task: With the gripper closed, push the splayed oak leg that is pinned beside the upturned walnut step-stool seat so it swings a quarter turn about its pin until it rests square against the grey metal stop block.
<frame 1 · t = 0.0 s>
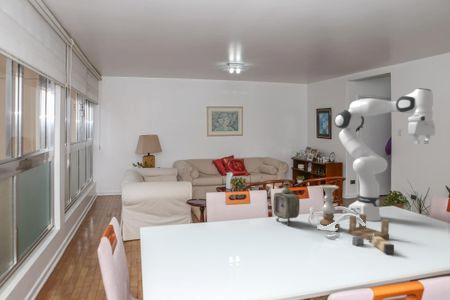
hand: (421, 143, 178), 48 cm above the table, tool pointing down, fingers open, 8 cm apart
candle holder: (328, 228, 184), on the table
stop block: (357, 244, 157), on the table
stool seat: (368, 236, 170), on the table
tabletop clock: (286, 223, 194), on the table
hinge bracket: (374, 243, 158), on the table
hinged leg: (381, 243, 152), point 2 cm above the table, hinge at -30.0°
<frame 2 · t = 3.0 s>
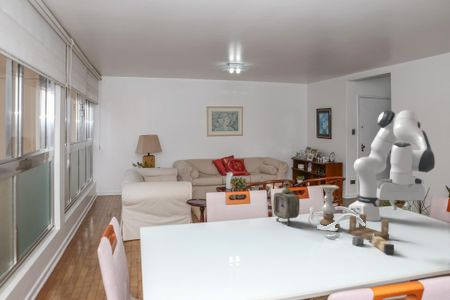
hand: (399, 209, 147), 19 cm above the table, tool pointing down, fingers open, 3 cm apart
nothing on the table moved.
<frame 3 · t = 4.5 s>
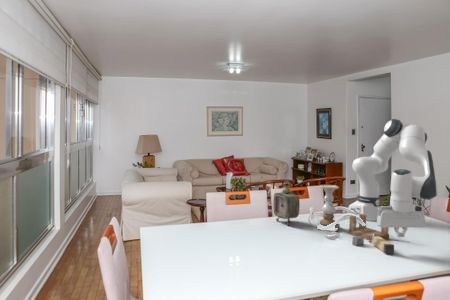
hand: (400, 236, 147), 7 cm above the table, tool pointing down, fingers closed
nothing on the table moved.
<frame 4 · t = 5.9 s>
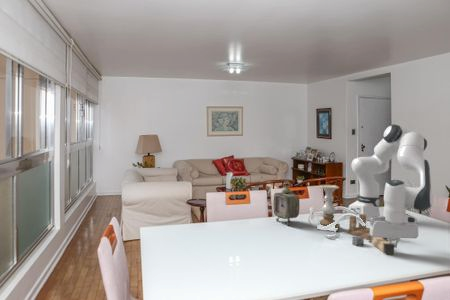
hand: (393, 247, 147), 2 cm above the table, tool pointing down, fingers closed
hinged leg: (381, 243, 152), point 2 cm above the table, hinge at -30.2°, touching gripper
everything else where it was.
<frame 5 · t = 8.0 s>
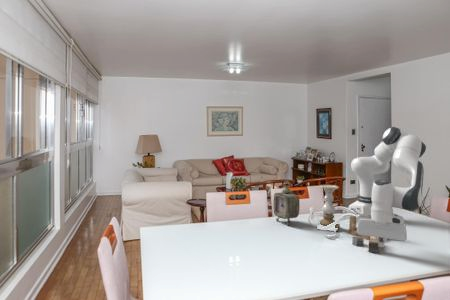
hand: (380, 247, 147), 2 cm above the table, tool pointing down, fingers closed
hinged leg: (373, 243, 152), point 2 cm above the table, hinge at -57.5°, touching gripper
everything else where it was.
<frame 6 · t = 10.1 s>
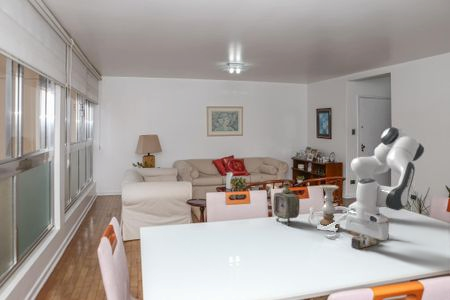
hand: (365, 244, 150), 2 cm above the table, tool pointing down, fingers closed
hinged leg: (365, 241, 155), point 2 cm above the table, hinge at -90.8°, touching gripper, stop block
everything else where it was.
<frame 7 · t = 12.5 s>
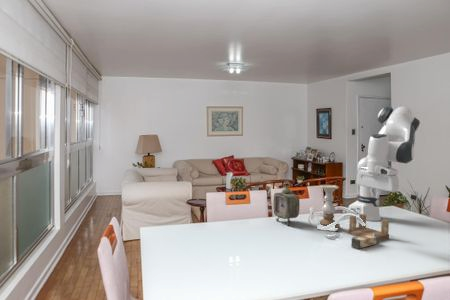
hand: (375, 197, 154), 23 cm above the table, tool pointing down, fingers closed
hinged leg: (365, 241, 155), point 2 cm above the table, hinge at -90.8°, touching stop block
everything else where it was.
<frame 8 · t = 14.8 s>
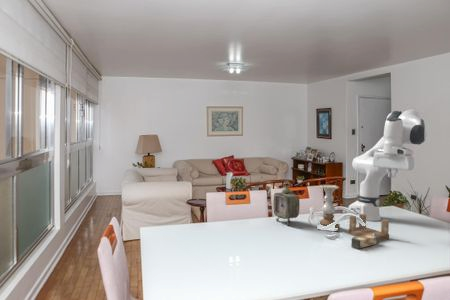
hand: (391, 177, 167), 31 cm above the table, tool pointing down, fingers closed
nothing on the table moved.
at the end: hinged leg at -91° (first picture: -30°); the gripper is holding nothing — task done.
